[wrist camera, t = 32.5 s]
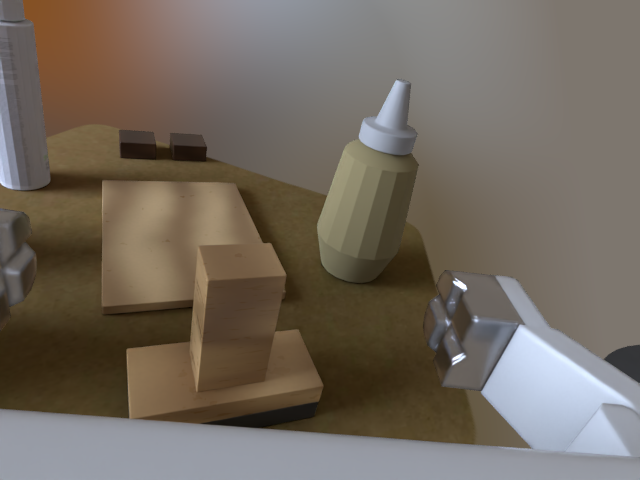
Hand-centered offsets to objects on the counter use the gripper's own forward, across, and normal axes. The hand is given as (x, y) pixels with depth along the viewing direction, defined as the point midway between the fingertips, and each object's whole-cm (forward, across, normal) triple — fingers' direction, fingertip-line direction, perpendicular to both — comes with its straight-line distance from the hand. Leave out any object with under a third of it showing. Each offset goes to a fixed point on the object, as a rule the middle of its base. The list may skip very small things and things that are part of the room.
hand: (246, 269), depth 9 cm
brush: (+12, 0, +19) cm, 23 cm away
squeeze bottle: (+29, -10, +20) cm, 36 cm away
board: (+30, +6, +19) cm, 36 cm away
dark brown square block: (+50, +9, +19) cm, 54 cm away
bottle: (+36, +23, +19) cm, 47 cm away
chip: (+48, +15, +19) cm, 54 cm away
